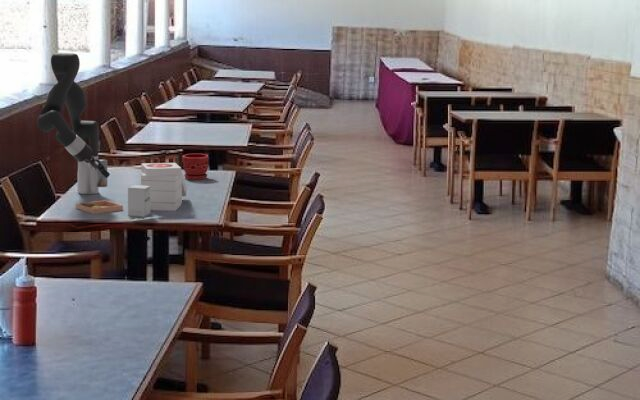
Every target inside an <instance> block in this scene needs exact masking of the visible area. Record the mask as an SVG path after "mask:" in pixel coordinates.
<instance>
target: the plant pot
mask: <svg viewBox="0 0 640 400" xmlns="http://www.w3.org/2000/svg"><path fill="white" fill-rule="evenodd" d="M181 157H182V159H181V160H182V162H181V163H182V167H183V171H184V175H183V177H185V178H186V179H187V180H193V181H196V180H197V181H199V180H203V179H206V178H207V177H208V174H207V171H208V169H209V162H210V161H209V155H208V154H207V153H206V154H205V153H187V154H183V155H182V156H181Z"/></svg>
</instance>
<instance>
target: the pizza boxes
mask: <svg viewBox="0 0 640 400" xmlns="http://www.w3.org/2000/svg"><path fill="white" fill-rule="evenodd" d="M140 165H141V166H140V169H141V172H142V174H141V175H140V185H143V186H150V211H169V212H170V211H173V212H174V211H175V212H176V211H177V210H178V209H179V208H180V207H181V206H182V204H183V203H182V202H183V197H187V194H188V190H187V189H188V188H187V186H186V182H185V178H184V177H185V176H184V175H183V171H182V167H181V166H179V165H178V164H177V162H161V163H160V162H151V163H150V162H149V163H148V162H147V163H141V164H140Z"/></svg>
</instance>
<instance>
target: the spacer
mask: <svg viewBox="0 0 640 400" xmlns="http://www.w3.org/2000/svg"><path fill="white" fill-rule="evenodd" d="M98 161H99V162H100V163H101V164H102V165H103V166H104V167H105V170H106V171H107V172H108V160H107V159H98ZM100 168H101V167H100ZM100 168H99V169H100ZM96 186H97V187H99V188H107V187H108V178H106V177H105V176H104V175H103V174H102V173H101V172H99V171H98V170H97V169H96Z"/></svg>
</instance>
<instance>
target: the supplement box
mask: <svg viewBox="0 0 640 400" xmlns="http://www.w3.org/2000/svg"><path fill="white" fill-rule="evenodd" d="M150 214H151V210H150V186H143V185H141V184H139V185H138V184H134V185H132V186H129V187H127V216H130V217H139V219H141V220H142V219H145V218H148V215H150Z"/></svg>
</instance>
